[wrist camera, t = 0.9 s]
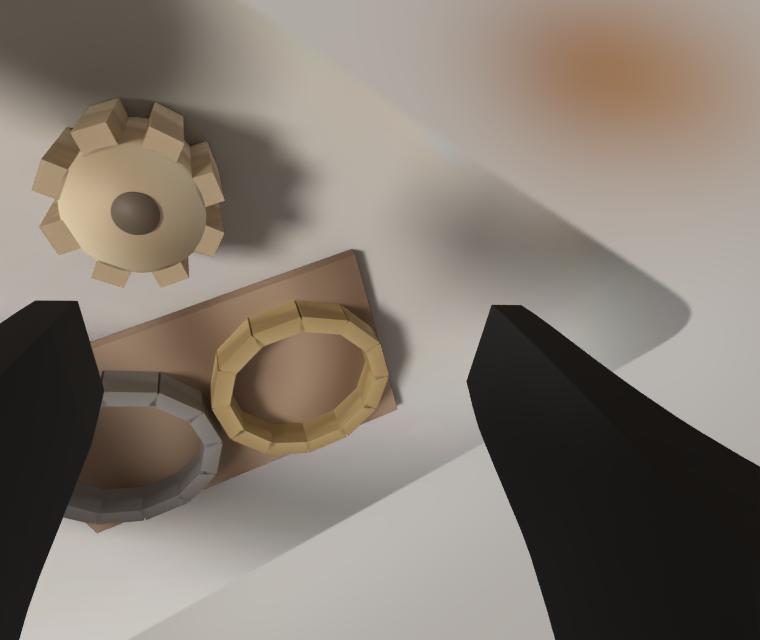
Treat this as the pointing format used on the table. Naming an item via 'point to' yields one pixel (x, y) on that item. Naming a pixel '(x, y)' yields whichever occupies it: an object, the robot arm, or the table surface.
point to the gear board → (255, 384)
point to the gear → (131, 194)
